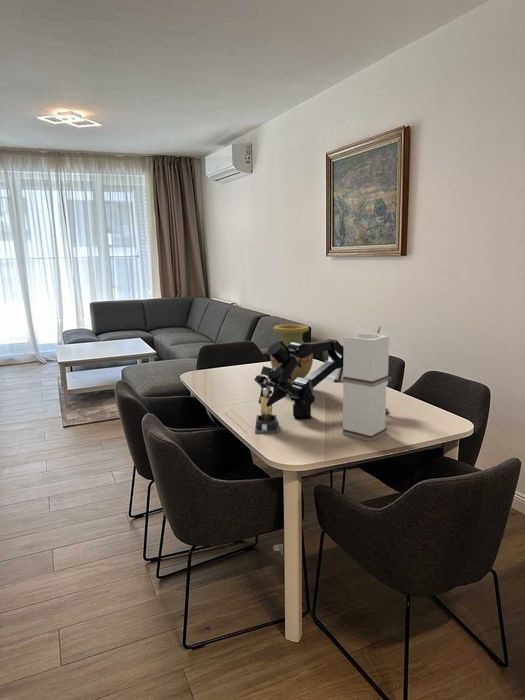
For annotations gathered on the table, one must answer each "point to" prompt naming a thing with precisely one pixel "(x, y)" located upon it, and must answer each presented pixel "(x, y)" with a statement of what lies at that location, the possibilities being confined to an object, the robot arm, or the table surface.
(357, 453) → the table surface
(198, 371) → the table surface
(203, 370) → the table surface
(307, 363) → the vase
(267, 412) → the gold perfume bottle
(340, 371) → the hinge
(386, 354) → the white banded pillar
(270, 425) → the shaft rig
